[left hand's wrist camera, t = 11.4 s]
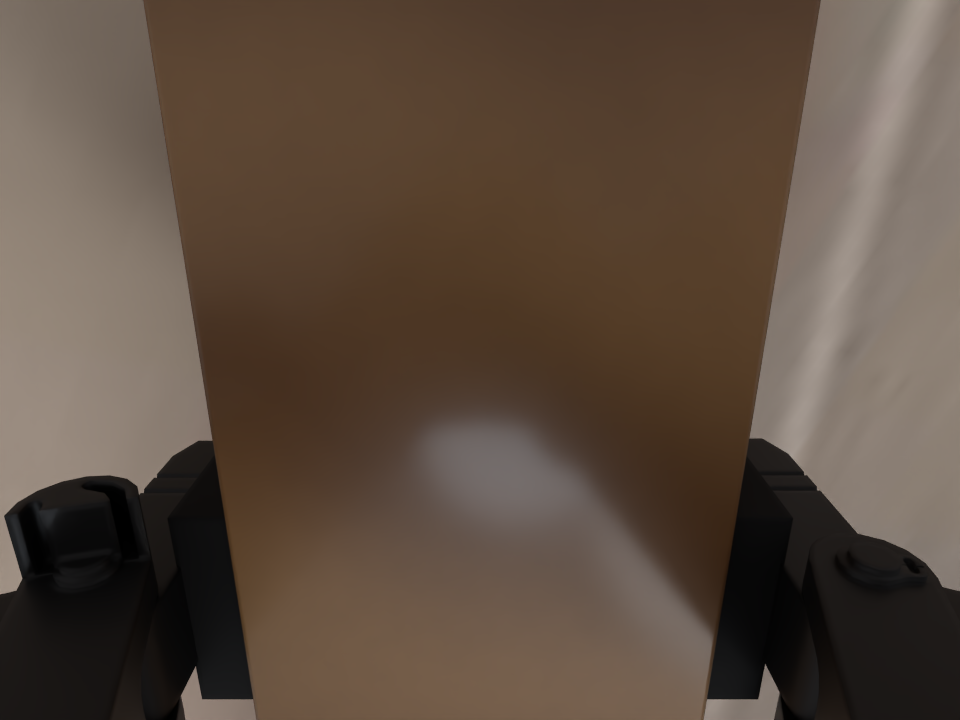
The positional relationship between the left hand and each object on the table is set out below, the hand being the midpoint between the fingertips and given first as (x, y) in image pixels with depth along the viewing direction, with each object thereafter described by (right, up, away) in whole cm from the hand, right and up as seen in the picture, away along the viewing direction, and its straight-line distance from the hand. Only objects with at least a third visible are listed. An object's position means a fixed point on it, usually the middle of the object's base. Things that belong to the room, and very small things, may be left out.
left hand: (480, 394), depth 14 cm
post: (0, -25, +10) cm, 27 cm away
